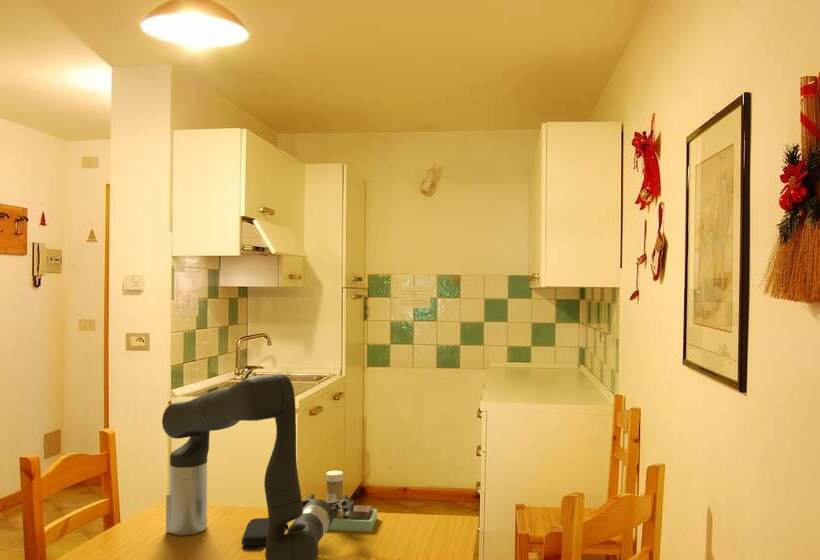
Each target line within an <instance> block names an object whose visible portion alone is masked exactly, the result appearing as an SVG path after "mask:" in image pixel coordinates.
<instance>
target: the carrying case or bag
mask: <svg viewBox="0 0 820 560" xmlns="http://www.w3.org/2000/svg"><path fill="white" fill-rule="evenodd" d="M285 529H287V530H288V529H289V525H288V523H286V525H285V527H284V530H285ZM267 534H268V517H263V518H262V517H259V518H252V519H251V520H249V522H248V523H247V525H246V528H245V531H244V533H243V536H242V539H241V545H242V547H244V548H245V549H259V547H265V548H266V542H267Z"/></svg>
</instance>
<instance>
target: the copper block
mask: <svg viewBox="0 0 820 560" xmlns="http://www.w3.org/2000/svg"><path fill="white" fill-rule="evenodd" d="M371 509H372V505H356V504H355V505H353V512H352V514H351V520H369V519H370V517H371Z"/></svg>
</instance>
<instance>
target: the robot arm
mask: <svg viewBox="0 0 820 560" xmlns="http://www.w3.org/2000/svg"><path fill="white" fill-rule="evenodd" d="M295 395H296V394H295V390H294V385H293V384H292V381H291V379H290V378H289V377H288V376H287V375H286V374H283V373H274V374H264V375H256V376H255V375H254V376H250V377H246V378H245V379H243V380H240V381H239V382H237V383H236V384H234V385H231V387H223V388H219V389H216V390H213V391H210V392H208V393H204V394H203V395H200V396H197V397H195V398H193V399H191V400H184V401H177V402H176V401H175V402H173V403H171V404H169V405H168V406H167V407H166V408H165V410H164V411H163V414H162V418H161V423H162V429H163V431H164V433H166V435H167V436H168V437H170V438H172V439H185V438H189V439H188V440H187V441H186V442H185V443H184V444H183V445H181V446H180V447H177V448H176V449H175V450H173V451H172V452H171V453H170V455H169V493H168V494H166V496H165V497H166V502H165V503H166V505H165V510H166V511H165V532H166V533H168V534H169V533H170V534H172V535H175V536H191V535H197V534H200V533H202V532H203V531H205V530H206V529H207V527H208V453H209V449H210V432H212V431H213V432H214V431H221V430H225V429H229V428H231V427H233V426H235V425H236V424H237V423H239V422H240V421H244V422H245V421H246V422H248V421H249V422H254V421H257V422H258V421H264V420H269V419H274V421H275V428H276V432H275V433H276V436H275V441H274V446H273V449H272V451H271V455H270V458H269V461H268V464H267V466H266V468H265V469H266V470H265V475H264V481H263V482H264V494H265V499H266V508H267V514H268V516H267V518H268V534H267V542H266V547H265V553H264V557H265V560H319V559H318V558H319V554H320V553H319V552H320V551H319V542H320V541H321V540H322V539H323V537H324V536H325V535H326V534H327V532H328V531H329V530H328V529H329V527H330V525H331V524H332V521H333V519H334V518H335V517H337V515H343V518H344V519H348V518H349V517H350V515H351V514H352V512H353V507H354V500H352V499H351V500H350V496H348V495H347V494H343V498H342V500H340V501H339V500H333V501H330V502H328V501H327V500H326V501H325V500H323V499H320V498H316V499H315V493H311V494H310V495H307V497H305V498H304V499H303V498H302V492H301V486H300V480H299V474H298V472H299V471H298V466H297V465H298V463H297V420H296V418H297V417H296V415H297V414H296V410H297V409H296V398H295ZM334 504H335V506H334ZM341 504H342V508H340V505H341ZM290 522H292V523H291V524H290V525H289V526H288V529H287V532H286V533H284V532H285V529H284V527H285V528H286V526H285V525H286V523H287V524H288V523H290Z"/></svg>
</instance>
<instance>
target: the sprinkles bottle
mask: <svg viewBox="0 0 820 560" xmlns="http://www.w3.org/2000/svg"><path fill="white" fill-rule="evenodd" d="M325 481H326V501H328V502H330V501H333V500H339V501H340V500H342V498H343V497H344V492H343V490H344V489H343V488H344V486H343V483H344V472H343V471H341V470H329V471H327V472H326V474H325ZM334 506H335V504H334ZM340 508H342V504H341V505H340ZM334 519H343V515H337V517H335V518H334Z"/></svg>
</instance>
